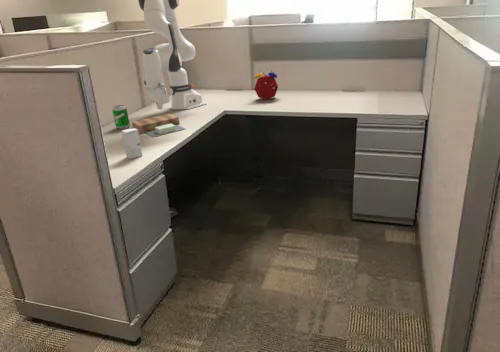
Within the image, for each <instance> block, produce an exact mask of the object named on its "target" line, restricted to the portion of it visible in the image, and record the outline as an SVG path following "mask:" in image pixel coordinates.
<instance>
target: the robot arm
mask: <svg viewBox="0 0 500 352" xmlns="http://www.w3.org/2000/svg"><path fill="white" fill-rule="evenodd" d="M138 5H139V7H140V9H141V10H142V12H143V22H144V25H145V27H146V28H147V29H148V30H149V31H151V32H153V33H155V34H158V35H161V36H162V37H163V38H165V39H167V43H165V42H164V43H160V44H157V45H156V46H155V47H151V48H147V49H144V50H143V51H142V53H141V54H142V67H143V70H144V72H145V80H143V85H144V86H145V90H146V94H147V95H146V96H147V97H148V98H149V99H151V100H153V101H154V102H155V105H156V107H157V110H160V111H161V110H164V109H163V108H164V106H163V105H164V104H169V102H170V97H169V93H168V89H167V88H166V87H165V84H166V83H165V77H164V73H167V75H168V79H169V80H168V81H169V91H170V95H171V106H170V108H171V109H172V110H191V109H194V108H198V107H200V106H201V107H202V106H204V105H207V101H206V100H203V97H202V95H201V93H199V92H198V91H196V90H194V89H193V88H194V87H195V84H193V83H189V80H188V74H187V71H186V69H184V67H183V62H187V61H191V60H193V59H194V58H195V57H196V53H197V52H196V47H195V46H194V44H193V43H191V42H189V40H187V39H186V38H185V37H184V35H183V34H182V32H181V30H180V26H179V22H178V18H177V14H176V9H177V8H178V6H179V5H180V0H138Z"/></svg>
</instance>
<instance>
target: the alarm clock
mask: <svg viewBox="0 0 500 352" xmlns="http://www.w3.org/2000/svg"><path fill="white" fill-rule="evenodd" d="M263 69H269V70H270V72H268V74H265V72H261V71H260V70H263ZM277 78H278V75H277V74H276V73H275V71H272V68H271V67H267V66H263V67H261V68H258V72H256V74H255V75H254V80H256V83H255V86H254V88H253V89H254V91H255V93H256V96H257V97H258V99H259V100H261V99H263V100H266V101H268V100H270V99H272V98H273V99H276V94H277V91H278V89H279V88H278V87H279V84H278V82H277V80H276V79H277Z"/></svg>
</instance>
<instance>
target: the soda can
mask: <svg viewBox="0 0 500 352" xmlns="http://www.w3.org/2000/svg"><path fill="white" fill-rule="evenodd" d="M111 110H112V115H113V120H114V125H115V128H116V129H118V128H119V129H118V130H123V129H122V128H125V129H127V128H126V127H128V126H130V125H131V124H130V118H129V114H128V109H127V106H125V104H117V105H114V106H113V107H112V108H111ZM128 128H129V127H128Z"/></svg>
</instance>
